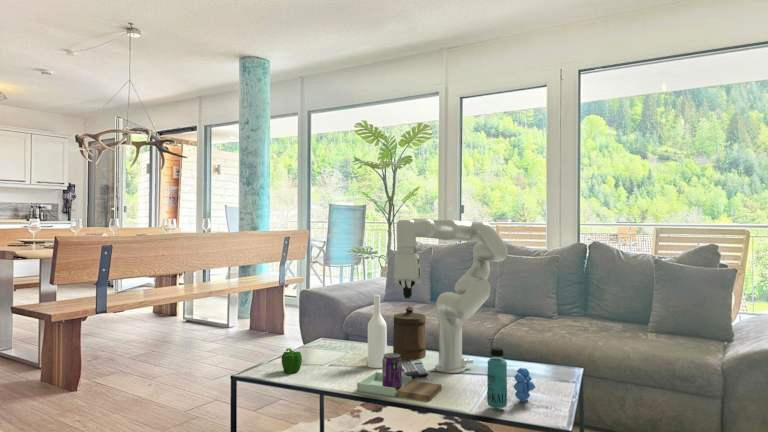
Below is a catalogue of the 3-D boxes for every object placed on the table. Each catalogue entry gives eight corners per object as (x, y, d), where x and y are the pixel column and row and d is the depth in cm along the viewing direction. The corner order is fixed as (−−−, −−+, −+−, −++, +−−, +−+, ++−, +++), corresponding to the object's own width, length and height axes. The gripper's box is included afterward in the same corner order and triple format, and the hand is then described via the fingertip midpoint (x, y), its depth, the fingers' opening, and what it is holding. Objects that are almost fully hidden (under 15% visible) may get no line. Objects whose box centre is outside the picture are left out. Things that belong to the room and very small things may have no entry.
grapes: (529, 410, 169) (529, 373, 169) (509, 405, 173) (509, 369, 173) (541, 399, 179) (540, 364, 179) (521, 395, 183) (521, 361, 183)
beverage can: (399, 391, 186) (399, 358, 187) (380, 390, 188) (380, 357, 188) (403, 385, 193) (403, 353, 193) (385, 384, 195) (385, 352, 195)
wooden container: (431, 354, 239) (431, 306, 239) (415, 361, 227) (415, 311, 227) (403, 349, 247) (403, 303, 247) (386, 356, 235) (386, 308, 235)
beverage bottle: (492, 404, 175) (492, 344, 175) (511, 408, 171) (510, 347, 171) (483, 409, 170) (483, 348, 170) (502, 414, 166) (501, 351, 166)
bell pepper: (296, 367, 219) (296, 343, 219) (304, 372, 212) (304, 348, 212) (277, 371, 214) (277, 346, 214) (285, 376, 207) (285, 351, 207)
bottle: (388, 363, 224) (388, 293, 224) (384, 369, 216) (383, 296, 216) (370, 362, 226) (370, 293, 226) (365, 367, 218) (365, 296, 218)
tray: (411, 384, 196) (411, 376, 196) (395, 397, 182) (395, 388, 182) (375, 379, 202) (375, 371, 202) (357, 391, 189) (357, 382, 189)
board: (441, 389, 189) (441, 384, 189) (429, 401, 178) (429, 395, 178) (411, 385, 195) (411, 380, 195) (397, 396, 183) (397, 390, 183)
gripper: (427, 250, 205) (428, 296, 205) (392, 250, 211) (393, 295, 211) (421, 252, 198) (422, 300, 198) (385, 251, 204) (386, 298, 204)
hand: (407, 297), depth 205 cm, fingers closed
